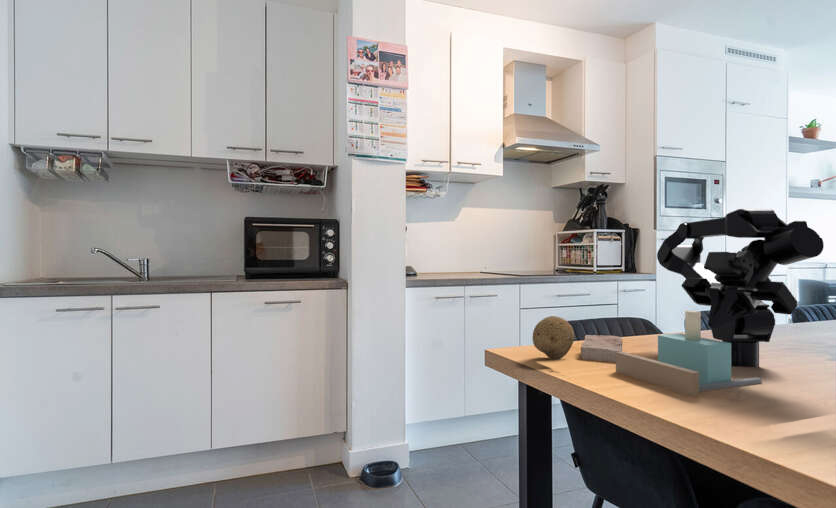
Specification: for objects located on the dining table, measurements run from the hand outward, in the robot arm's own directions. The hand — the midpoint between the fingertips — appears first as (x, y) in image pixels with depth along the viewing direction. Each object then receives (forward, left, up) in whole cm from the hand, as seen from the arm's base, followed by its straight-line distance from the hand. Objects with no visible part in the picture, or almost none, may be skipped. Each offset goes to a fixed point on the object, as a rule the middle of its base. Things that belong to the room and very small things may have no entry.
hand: (710, 326), depth 83 cm
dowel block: (+5, 0, -9) cm, 10 cm away
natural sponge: (+17, -25, -11) cm, 32 cm away
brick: (+5, -22, -11) cm, 25 cm away
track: (+5, 0, -10) cm, 12 cm away
